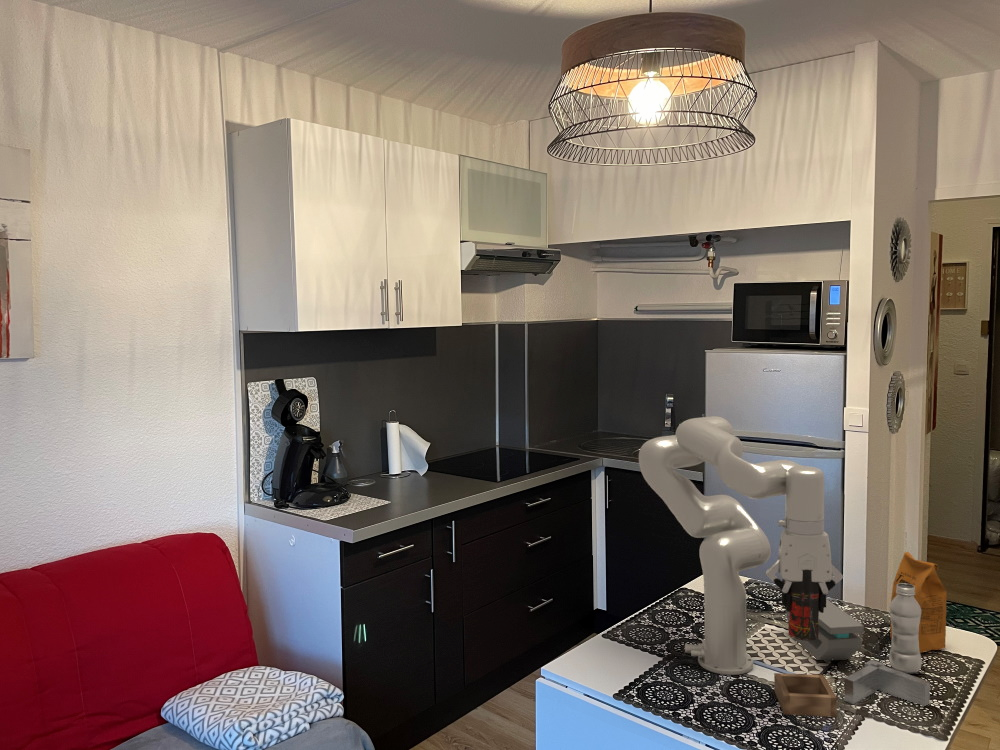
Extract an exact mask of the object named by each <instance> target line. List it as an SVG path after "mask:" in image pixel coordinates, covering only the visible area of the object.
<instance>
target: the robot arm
mask: <svg viewBox="0 0 1000 750" xmlns="http://www.w3.org/2000/svg"><path fill="white" fill-rule="evenodd" d="M743 451H744V447H743V443H742V441H741V440H740V438H739V437H737V436H735V433H734V428H733V426H732V425H731V422H729V421H728V420H727V419H725V418H723V417H721V416H716V415H712V416H703V417H694V418H689V419H687V420H684V421H683V422H681V423H680V424H679V425H678V427H677V428H676V430H675V434H673V435H663V436H657V437H655V438H651V439H649V440H647V441H646V442H644V443H643V444H642V446H641V447H640V449H639V452H638V465H639V469H640V472H641V475H642V476H643V479H644V480H645V482H646V483H647V485H648V486H650V488H651V489H652V490H653V491H654V492H655V494H657V495H658V497H660V499H662V501H663V502H664V504H665V505H666V506H667V508H668V509H669V510H670V512H671V513H672V514H673V516H674V517H675V518H676V520H677V521H678V523H679V524H680V525H681V526H682V528H683V530H685V532H686V533H687V534H688V535H690V536H691V537H693V538H698V539H700V538H704V539H703V541H701V544H700V545H699V553H698V554H699V559H700V564H701V569H702V577H703V590H704V591H703V594H704V595H703V597H704V639H702V641H701V642H702V643H698V644H692V643H691V644H687V643H685V644H684V652H685V653H688V654H690V656H691V657H697V662H698V665H700V667H702V668H703V669H704V670H706V671H709V672H710V673H711V672H712V673H715V674H719V675H726V676H737V675H744V674H746V673H749V672H750V671H752V670H753V668H754V660H753V658H752V657H751V656H750V655H748V654H747V592H746V587H745V585H744V583H743V581H742V579H741V577H740V575H739V573H740V572H742V571H745V570H749V569H753V568H756V567H760V566H763V565H764V564H765V563H767V562H768V561H769V559H770V557H771V555H772V554H771V553H772V552H771V551H772V550H771V544H770V541H769V539H768V537H767V535H766V534H765V532H764V531H763V529H762V528H761V527H760V526H759V524H758V523H757V522H756V521H755V519H753V518H752V516H751V515H750V514H749V512H748V511H747V510H746V508H744V506H743V505H742V504H741V503H740V502H739V501H738V500H737V499H735V498H734V497H732V496H730V495H728V494H714V495H704V494H702V493H701V491H700V490H699V489H698V488H697V487H696V485H695V484H694V483H693V481H691V480H690V479H689V478H688V477H686V476H685V475H683V474H681V473H679V472H678V471H677V470H674V469H682V468H688V467H694V466H698V465H700V464H702V463H704V462H705V463H707V464H709V465H711V466H713V467H714V468H716V471H717V474H718V476H719V478H720V480H721V481H722V482H723V484H724V485H726V486H727V487H728V488H730V489H731V490H733V491H735V492H737V493H738V494H740V495H742V496H744V497H747V498H749V499H753V500H762V499H767V498H773V497H777V496H780V497H781V496H785V515H784V518H783V519H778V520H777V524H778V525H777V526H778V527H782V528H784V529H783V530H782V531H781V535H780V541H779V545H778V555H777V561H775V562H774V563H773V564H772V565H771V566H770V567H769V568H768V569H767V570H766V571H765V575H766V577H767V578H768V579H769V580H770V581H772V582H773V584H775V585H776V586H777V587H778V589H779V590H780V591H781V606H782V607H783V608H784V609H785V612H786V611H787V612H790V611H791V594H790V592H789V588H790V586H791V583H792V582H801V581H802V577H803V571H802V570H813V571H812V582H815V583H819V612H821V613H823V612H824V607H826V599H827V594H828V593H829V592H830V591H831V590H832V589H833V588H834V587H835V586H836V584H838V583H839V582H841V580H842V579H844V576H843V574H842V573H841V572H840V571H839V570H838V568H836V567H835V566H834V565H833V563H832V552H831V544H830V537H829V534H828V533H827V532H826V531H825V474H824V472H823V470H822V469H820V468H818V467H815V466H811V465H802V464H799V463H798V462H795V461H793V460H788V459H777V460H769V461H763V462H758V463H751V462H749V461H746V460H744V459H742V457H743ZM777 573H779V575H780V577H781V579H780V578H779V577H778V576H776V574H777Z"/></svg>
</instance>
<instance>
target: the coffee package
mask: <svg viewBox="0 0 1000 750" xmlns="http://www.w3.org/2000/svg"><path fill="white" fill-rule="evenodd" d="M937 570H939V566H938V564H937V563H933V562H928V561H923V560H918V559H915V558H914V556H913V555H912V554H911V553H910V552H909V551H905V552H904V554H903V556H902V558H901V561H900V563H899V566H898V570H897V571H896V574H895V577H894V581H893V584H892V590H891V591H892V592H891V598H890V602H891V601H892V600H893V599H894V598H895V597H896V596H897V593H896V590H897V584H900V583H905V584H911V585H913V586H915V596H914V598H915V599H916V601H917V602H918V604H919V605H920V607H921V618H920V624H919V633H918V634H919V636H918V639H919V650H920V654H922V653H924V652H925V653H926V652H929V651H932V650H936V651H939V650H940V651H941V650H942V649H945V648H946V636H947V632H946V631H947V630H946V629H947V628H946V627H947V618H946V617H947V600H948V599H947V595H948V593H947V591H946V589H945V587H944V584H943V583H942V581H941V578H940V577H939V576H938V574H937ZM889 619H891V617H890V618H889ZM889 628H890V630H889V631H890V636H889V637H890V639H892V623H891V622H890V627H889Z"/></svg>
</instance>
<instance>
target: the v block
mask: <svg viewBox="0 0 1000 750" xmlns="http://www.w3.org/2000/svg"><path fill="white" fill-rule="evenodd" d="M843 680H844V681H843V682H844V684H843V685H844V687H843V688H844V689H843V690H844V691H843V694H844V695H843V696H844V697H843V698H844V699H843V701H844V702H846V703H848V704H851V705H855V704H857V703H858V702H860V701H862V700H864V699H865V698H867V697H869V696H870V695H873V694H874V693H876V692H878V691H877V690H879V692H882V693H885V694H887V693H888V694H887V695H889V694H890V696H892V697H895V698H897V697H898V699H900V698H901V699H900V700H903V699H904V700H903V701H905V700H907V701H906V702H908V701H910V702H909V703H911V702H913V703H917V704H920V705H923V706H926V705H928V704H929V705H930V700H931V699H930V698H931V697H930V690H931V689H930V688H931V687H930V686H931V684H930V683H931V681H929V680H925V679H924V678H923V679H922V678H920V677H917V676H915V675H911V674H908V673H903V672H900V671H897V670H894V669H893V668H891V667H888V666H886V663H884V662H880V661H878V660H875V659H870V660H869V661H867V662H865V663H864V667H863V668H861V669H859V670H857V671H855V672H853V673H852V674H849V675H848V676H846V677H844V679H843ZM913 703H912V704H913ZM929 705H928V706H929Z"/></svg>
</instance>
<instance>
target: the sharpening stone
mask: <svg viewBox="0 0 1000 750" xmlns="http://www.w3.org/2000/svg"><path fill="white" fill-rule="evenodd" d="M785 616H786V618H787V621H788V622H789V612H787V611H786V610H785ZM864 630H865V627H864V625H863V624H862V623H860V622H859V621H857V620H856V619H854V617H852V616H851V615H849V614H848V613H847V612H845V611H844V610H842V608H840V607H838V606H837V605H836V604H834V603H833V602H831V601H830V600H829V599H828V598H826V607H824V612H823V613H821V612H819V633H818V638H817V639H816V640H811V641H805V640H798V639H795V638H793V639H794V641H795V640H796V641H797V642H799V643H800V644H801V645H802V646H803V647H804V648H805V649H806V650H807V651H808V652H809V653H811V654H812V655H813V656H814V657H815V658H816V659H817V660H831V661H841V660H842V661H844V660H847V659H848V660H850V659H851V657H853V656H854V655H855V654H856V653H857V652H858V651H859V650H860V649H861V648H862V638H861V636H859V635H858V634H863V633H865V632H864ZM832 659H833V660H832Z"/></svg>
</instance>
